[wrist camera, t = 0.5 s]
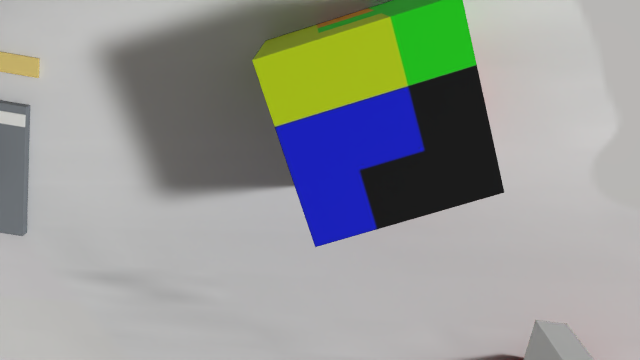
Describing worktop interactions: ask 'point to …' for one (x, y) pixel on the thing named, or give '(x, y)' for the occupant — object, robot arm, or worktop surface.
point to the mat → (14, 167)
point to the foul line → (19, 64)
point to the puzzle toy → (380, 116)
